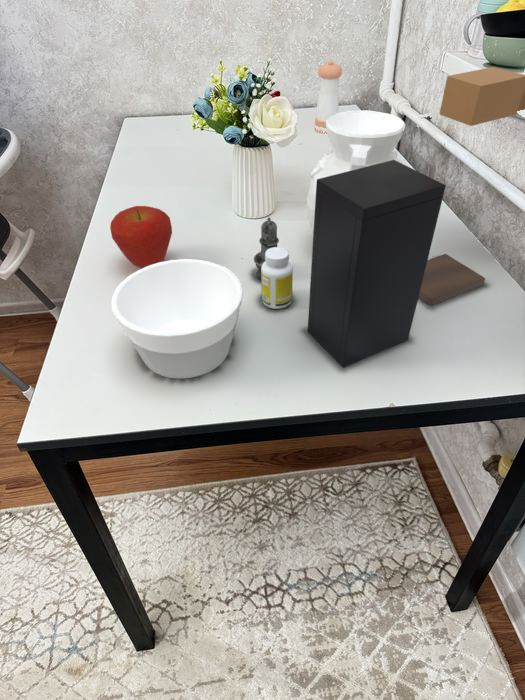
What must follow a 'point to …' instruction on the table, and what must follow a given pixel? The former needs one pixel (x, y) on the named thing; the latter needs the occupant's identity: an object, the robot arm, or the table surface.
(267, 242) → the dark grey tall piece
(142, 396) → the table surface
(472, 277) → the board
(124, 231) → the apple
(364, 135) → the pitcher
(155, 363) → the bowl
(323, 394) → the table surface
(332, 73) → the salt shaker
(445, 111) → the brown stepped block
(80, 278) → the table surface
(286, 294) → the supplement bottle
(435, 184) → the tall black box
